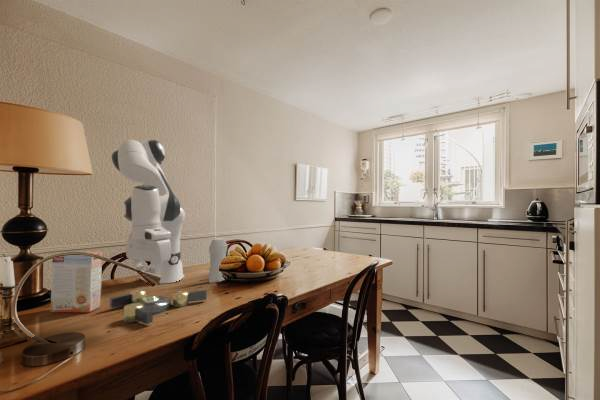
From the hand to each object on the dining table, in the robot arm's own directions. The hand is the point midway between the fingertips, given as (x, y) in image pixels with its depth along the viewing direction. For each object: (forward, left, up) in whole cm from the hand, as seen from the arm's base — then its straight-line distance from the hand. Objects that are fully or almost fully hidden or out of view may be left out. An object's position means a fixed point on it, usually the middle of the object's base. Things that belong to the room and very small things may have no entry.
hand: (147, 273), depth 94 cm
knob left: (0, +17, -15) cm, 22 cm away
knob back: (-17, +2, -15) cm, 23 cm away
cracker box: (-28, -11, -15) cm, 34 cm away
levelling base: (-7, +5, -15) cm, 18 cm away
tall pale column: (-18, +45, -15) cm, 51 cm away
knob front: (+1, -3, -15) cm, 15 cm away
